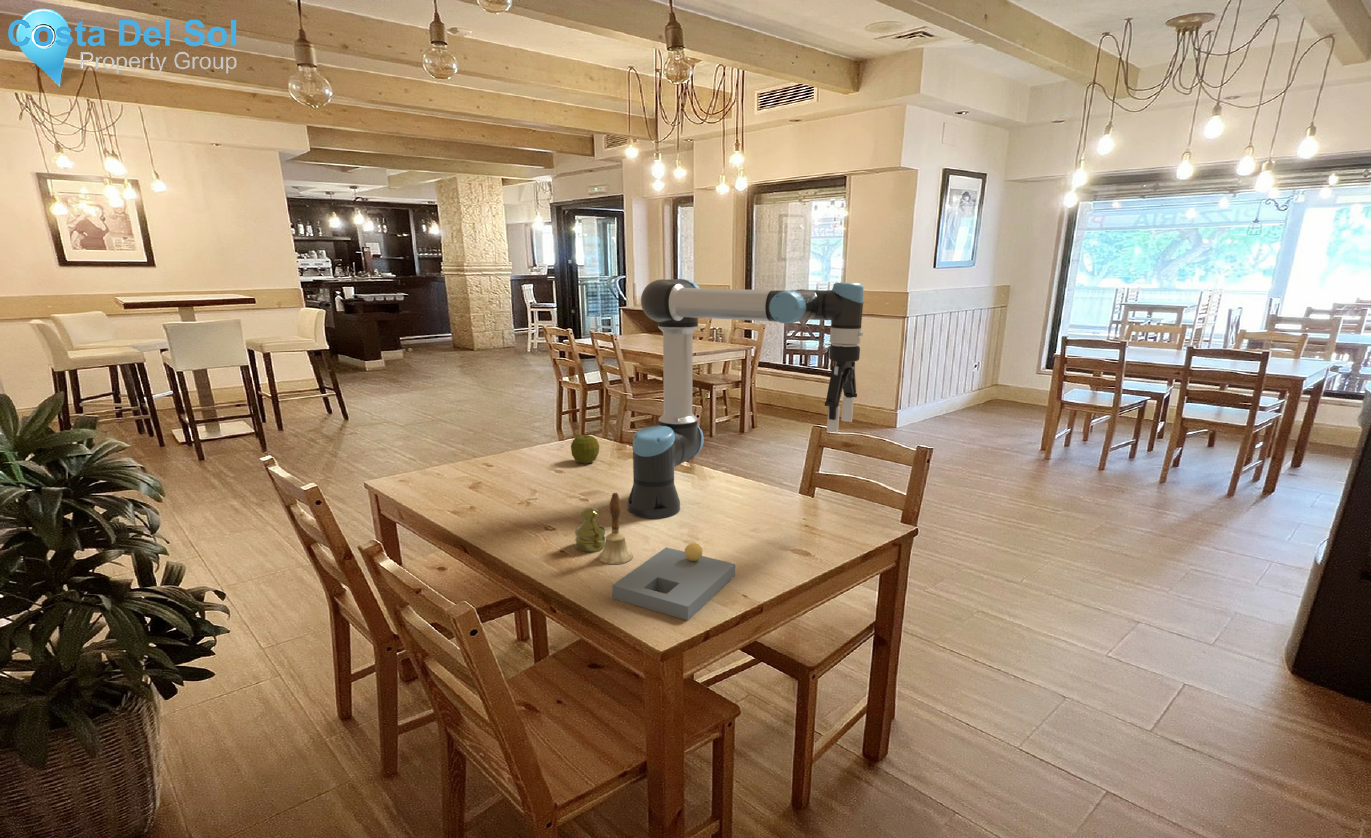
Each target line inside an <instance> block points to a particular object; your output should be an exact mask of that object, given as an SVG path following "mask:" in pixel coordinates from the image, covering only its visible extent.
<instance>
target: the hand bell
mask: <svg viewBox="0 0 1371 838" xmlns="http://www.w3.org/2000/svg"><path fill="white" fill-rule="evenodd" d="M611 494H612V495H611V498H610V501H609V512H610V517H611V533H608V534H607V535H606V536H605V547H604V548H603V549H602V551H601V552H600V553H599V554H598V560H599V561H600V562H602V563H603V564H608V565H621V564H625V563H628V562H630V561H632V559H633V558H634V553H632V551H631V550H630V549H629V547H628V545H627V542H626V536H625V535H624V533H621V532H620V531H619V529H620V525H619V521H620V520H619V518H620V515H621V509H622V506H621V505H622V504H621V500H620V496H619V493H618V492H613V493H611Z"/></svg>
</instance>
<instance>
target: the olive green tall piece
mask: <svg viewBox="0 0 1371 838" xmlns="http://www.w3.org/2000/svg"><path fill="white" fill-rule="evenodd" d="M600 514H601V512H600V510H598V509H597V508H595V507H590V506H588V507H586V508H584V509H582V510H581V511H579V516H580V517H581V518H583V519H584V521H583V522H582V523H581V524H580V525H579V526H577V527H576V529H575V531H574V534H575V539H574V541H575V548H576V549H577V550H578V551H581V552H587V553H593V552H597V551H598V552H599V551H601V550H603V549H604V547H605V542H606V536H605V534H606V528H605V527H604V526H603V525H601V524H600V523H599V522H597V520H596V519H597V518H598V517H599V516H600Z"/></svg>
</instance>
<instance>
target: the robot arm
mask: <svg viewBox="0 0 1371 838" xmlns="http://www.w3.org/2000/svg"><path fill="white" fill-rule="evenodd" d="M864 303H865V301H864V285H863V284H862V283H860V282H835V283H833V285H832V289H829V290H823V289H822V290H821V289H802V288H801V289H800V288H798V289H791V290H779V289H778V290H769V289H737V288H736V289H735V288H734V289H733V288H731V289H730V288H728V289H727V288H705V287H703V288H701V287H700V286H699V285H697V283H695V282H694V281H691V280H688V279H683V278H677V279H675V278H673V279H663V278H662V279H656V280H654V281H651V282H650V283H648V284H647V285H646V286H645V287H644V288H643V291H642V293H641V296H640V305H641V308H642V311H643V312H644V315H646V316H647V318H648V319H650V320H652V321H654V322H657V327H658V329H659V330H660V331H661V332H662V337H663V338H662V341H663V342H662V343H663V345H662V350H663V351H662V354H663V355H662V357H663V358H662V359H663V360H662V361H663V365H662V366H663V368H662V370H663V371H662V372H663V373H662V374H663V376H662V377H663V414H662V415H660V416H659V417H658V425H651V426H644V427H643V428H640V429H638V430H637V431H636V432H635V433H634V434H633V439H632V461H633V462H632V473H633V475H632V477H633V484H632V487H631V491H630V494H629V496H628V500H627V511H628V513H630V514H631V515H633V516H635V517H640V518H646V519H661V518H663V519H664V518H668V517H671V516H674V515H676V514H678V513H679V512H680V510H681V500H680V498H679V494H678V492H677V487H676V484H675V467H678V466H679V465H682V464H684V463H685V462H686V463H687V462H689V461H691V460H693V459H694V458H695V457H696V456H697V455H698V454H700V452H701V450H702V448H703V446H704V443H705V441H704V439H705V438H704V433H703V430H702V428H700V426H699V424H698V417H696V416H695V414H694V413H693V369H694V368H693V365H694V364H693V363H694V362H693V361H694V360H693V352H694V351H693V349H694V348H693V338H694V336H693V335H694V332H695V331H696V330H697V329H698V327H699V326H698V325H699V319H715V320H716V319H717V320H734V321H735V320H736V321H737V320H739V321H756V322H758V321H761V322H773V323H774V322H777V323H779V324H795V323H798V322H803V321H813V320H814V321H830V333H829V343H830V346H829V348H828V349H829V351H828V352H829V353H828V354H829V355H828V358H829V360H830V361H833V362H835V366H833V365H832V366H831V369H830V370H831V371H830V377H829V378H830V379H829V384H828V389H827V394H826V399H825V402H824V406H825V407H827V421H826V432H827V433H828V432H830V433H836V434H837V433H839V424H840V423H839V422H840V419H841V422H846V423H847V422H848V423H852V422H853V415H854V414H853V410H854V399H855V398H857V397H858V393H857V386H856V385H857V384H856V362H858V361H859V360H860V355H861V347H860V345H859V344H861V339H862V337H863V335H864V332H862V323H863V322H862V320H863V310H864ZM842 393H843V396H842ZM841 397H842V407H840V406H839V404H840V401H841ZM840 408H841V418H840Z"/></svg>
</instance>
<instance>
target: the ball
mask: <svg viewBox="0 0 1371 838" xmlns="http://www.w3.org/2000/svg"><path fill="white" fill-rule="evenodd" d="M684 552H685V556H686V557H687V559H689V560H691V561H697V560H699V559H700V558H701V556H703V548H702V546H701V545H699V543H696V542H691V543H689V544H687V545H686V547H685V548H684Z"/></svg>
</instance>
